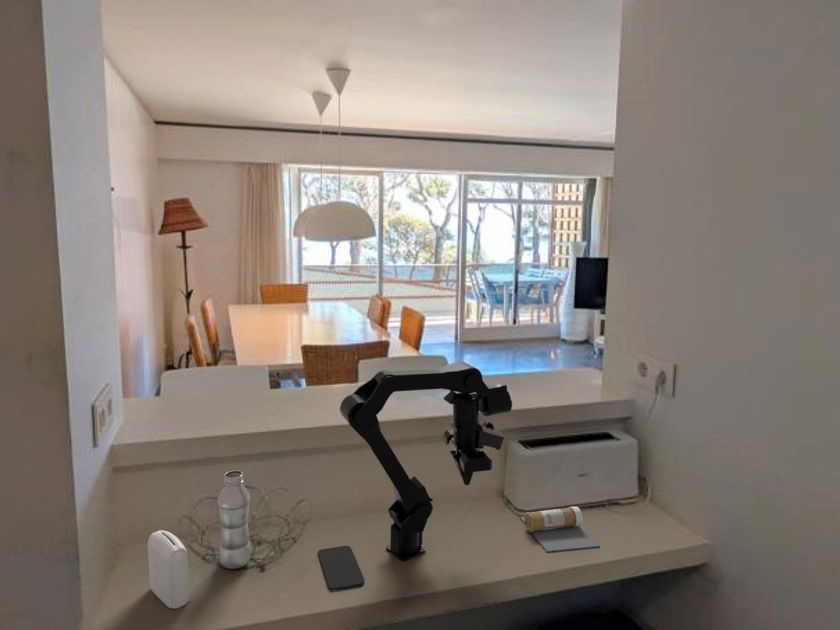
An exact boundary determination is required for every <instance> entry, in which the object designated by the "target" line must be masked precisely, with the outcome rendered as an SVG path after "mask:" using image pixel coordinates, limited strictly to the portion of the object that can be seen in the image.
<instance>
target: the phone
mask: <svg viewBox="0 0 840 630" xmlns="http://www.w3.org/2000/svg"><path fill="white" fill-rule="evenodd" d="M317 556H318V560H319V562H320V565H321V568H322V572H323V576H324V578H325V582H326V585H327V588H328V590H329V591H331V590H337V591H342V590H346V589H347V588H348V589H353V588H352V587H354V588H359V587H362V586H364V585H365V578H364V575H363V573H362V570H361V568H360V566H359V563H358V562H357V561H358V560H357V559H356V556H355V554H354V552H353V550H352V547H351V546H349V545H341V546H335V547H327V548H321V549H319V550H318V551H317ZM363 584H364V585H363ZM361 585H362V586H361ZM358 586H359V587H358ZM341 589H342V590H341Z"/></svg>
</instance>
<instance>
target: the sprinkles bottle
mask: <svg viewBox="0 0 840 630" xmlns="http://www.w3.org/2000/svg"><path fill="white" fill-rule="evenodd" d="M524 516H525V524H524V526H525V528H526V530H527V532H529V533H531V532H533V531H540V530H550V529H555V528H562V527H569V526H573V527H576V526H582V524H583V523H584V520H583V518H584V517H583V513H582V511H581V509H580V508H579V507H578V506H569V507H567V508H556V509H547V510H541V511H540V510H539V511H533V512H525V514H524Z"/></svg>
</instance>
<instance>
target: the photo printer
mask: <svg viewBox="0 0 840 630" xmlns="http://www.w3.org/2000/svg"><path fill="white" fill-rule="evenodd" d="M147 556H148V557H147V559H148V578H149V587H150V590H151V592H152V593H153V594H154V595H155V596H156V597H157V598H158V599H159V600H160V601H161V602H162V603H163V604H164V605H165V606H166V607H168V608H169V609H174V610H175V609H180V608H181V607H183V606H185V605H186V604H187V603H188V601H189V600H190V587H189V586H190V585H189V584H190V583H189V564H188V563H189V561H188V560H189V559H188V557H189V556H188V551H187V549H186V547H185V545H184V544H183V542H182V541H181V540H180V539H179V538H178V537H177V536H176V535H174V534H173V533H171V532H169V531H167V530H164V529H163V530H162V529H160V530H158V531H154V532H153V533H151V534H150V536H149V538H148V540H147Z"/></svg>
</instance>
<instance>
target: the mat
mask: <svg viewBox="0 0 840 630" xmlns="http://www.w3.org/2000/svg"><path fill="white" fill-rule="evenodd" d="M519 518H520V519H522V520H521V521H522V522H523V524H524V525H525V517H520V516H519ZM530 533H531V534H532V535H533V537H534V538H535V539H536V541H537V542H538V543H539V544H540V546H542V548H543V549H544V551H545V552H546V553H553V552H552V551H554V552H562V551H563V550H564V551H570V550H571V551H572V550H573V549H574V550H582V549H591V548H592V549H593V548H600V545H599V543H598V542H597V541H596V540H595V539H594V538H593V537H592V536H591V535H590V534H589V532H587V531H586V530H585V529H584V528H583V526H582V525H580V526H576V527H573V526H569V527H562V528H555V529H550V530H540V531H533V532H530Z"/></svg>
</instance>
